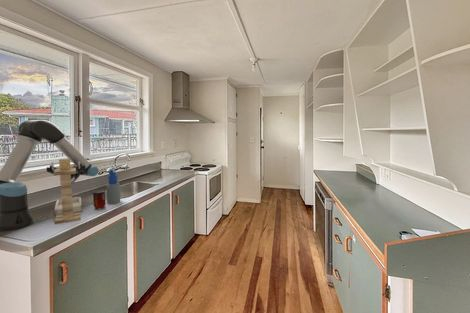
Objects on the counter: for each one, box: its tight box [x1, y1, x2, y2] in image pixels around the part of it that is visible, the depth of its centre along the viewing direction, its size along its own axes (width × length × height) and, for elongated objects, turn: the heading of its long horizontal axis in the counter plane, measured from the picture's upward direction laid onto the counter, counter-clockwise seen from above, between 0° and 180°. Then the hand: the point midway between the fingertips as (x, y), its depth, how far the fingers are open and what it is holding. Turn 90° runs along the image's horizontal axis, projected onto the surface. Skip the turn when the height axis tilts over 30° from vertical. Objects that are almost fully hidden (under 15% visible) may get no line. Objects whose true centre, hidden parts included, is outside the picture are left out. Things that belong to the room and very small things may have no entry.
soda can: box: [92, 189, 107, 210], centre depth 156 cm, size 7×7×12 cm
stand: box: [53, 167, 82, 225], centre depth 135 cm, size 14×12×30 cm
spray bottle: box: [105, 168, 121, 205], centre depth 168 cm, size 9×9×25 cm
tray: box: [53, 196, 83, 217], centre depth 155 cm, size 26×14×4 cm, turn 35°
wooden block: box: [58, 158, 72, 170], centre depth 139 cm, size 18×5×6 cm, turn 35°
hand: (66, 163), depth 141 cm, fingers open, 13 cm apart
